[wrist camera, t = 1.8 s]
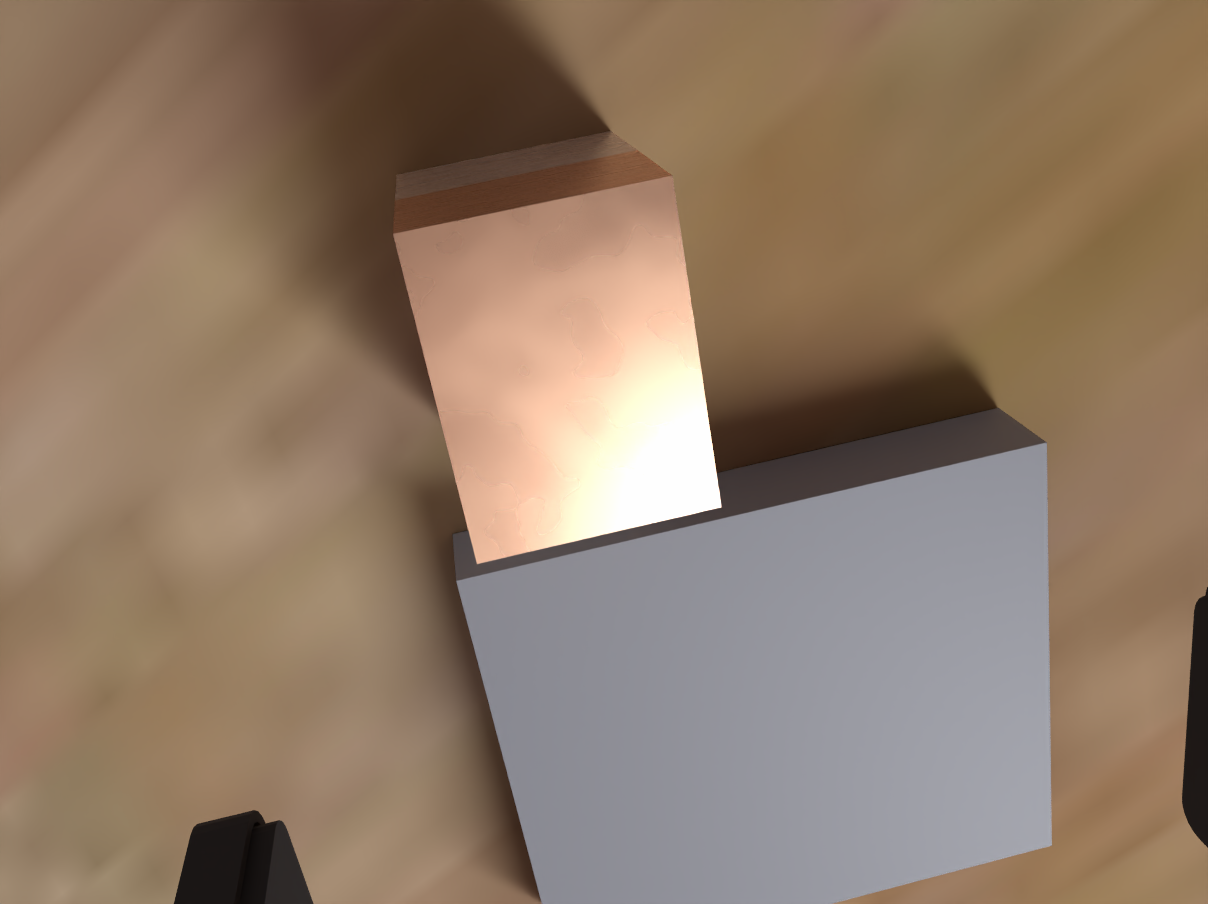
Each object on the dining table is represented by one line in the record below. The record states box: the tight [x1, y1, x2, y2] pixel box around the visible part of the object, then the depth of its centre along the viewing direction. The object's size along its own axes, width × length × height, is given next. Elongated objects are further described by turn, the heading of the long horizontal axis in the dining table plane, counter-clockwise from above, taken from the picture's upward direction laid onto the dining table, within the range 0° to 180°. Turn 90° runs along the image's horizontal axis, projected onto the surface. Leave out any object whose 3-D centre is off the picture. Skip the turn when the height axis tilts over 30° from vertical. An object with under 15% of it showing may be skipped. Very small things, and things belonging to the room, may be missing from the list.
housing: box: [393, 131, 721, 564], centre depth 29 cm, size 6×8×8 cm
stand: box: [453, 408, 1052, 904], centre depth 37 cm, size 18×16×3 cm
